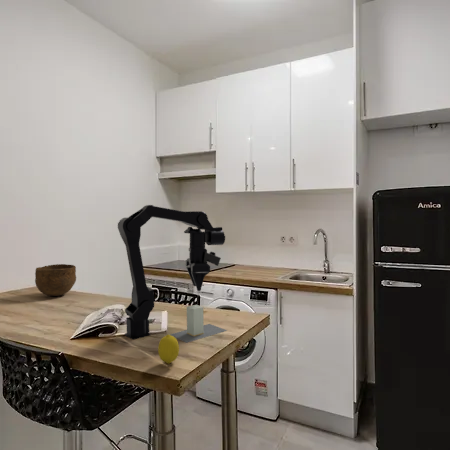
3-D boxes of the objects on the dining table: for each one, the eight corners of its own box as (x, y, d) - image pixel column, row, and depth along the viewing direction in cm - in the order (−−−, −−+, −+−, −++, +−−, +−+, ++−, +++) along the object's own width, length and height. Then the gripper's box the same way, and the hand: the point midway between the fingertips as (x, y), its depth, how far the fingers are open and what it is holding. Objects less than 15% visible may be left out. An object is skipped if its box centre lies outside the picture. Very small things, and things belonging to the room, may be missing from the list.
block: (193, 336, 113) (193, 309, 113) (186, 333, 116) (186, 306, 116) (203, 333, 116) (203, 306, 115) (196, 330, 119) (196, 304, 118)
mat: (186, 343, 107) (186, 342, 107) (169, 335, 115) (169, 334, 115) (227, 331, 119) (227, 330, 119) (209, 324, 126) (209, 323, 126)
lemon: (159, 360, 95) (159, 331, 95) (179, 359, 96) (179, 330, 96) (157, 369, 90) (156, 338, 90) (178, 368, 90) (178, 337, 90)
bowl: (66, 300, 165) (65, 269, 165) (27, 300, 166) (26, 269, 165) (83, 291, 184) (82, 263, 184) (48, 291, 184) (47, 263, 184)
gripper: (224, 247, 119) (224, 292, 119) (213, 243, 137) (213, 283, 137) (192, 247, 116) (192, 294, 116) (185, 244, 134) (185, 284, 135)
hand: (196, 288), depth 126 cm, fingers open, 9 cm apart
